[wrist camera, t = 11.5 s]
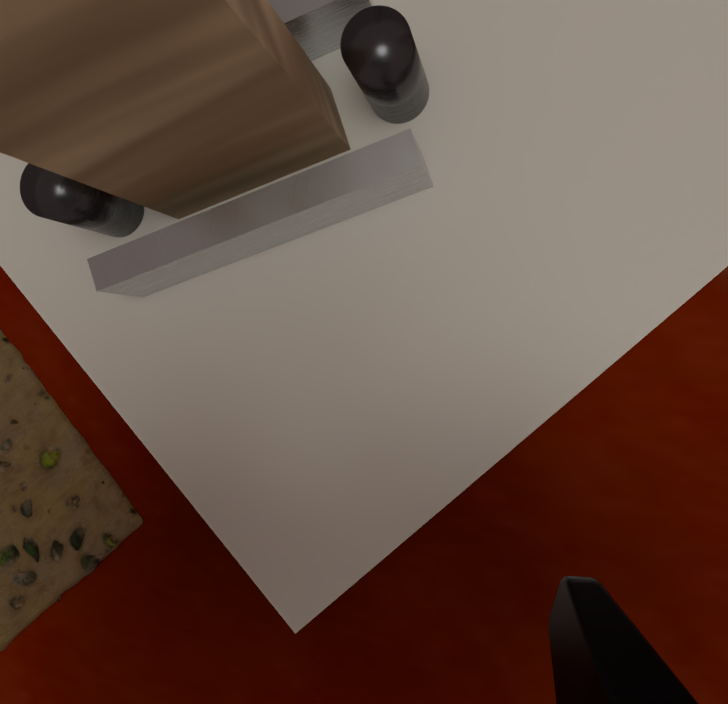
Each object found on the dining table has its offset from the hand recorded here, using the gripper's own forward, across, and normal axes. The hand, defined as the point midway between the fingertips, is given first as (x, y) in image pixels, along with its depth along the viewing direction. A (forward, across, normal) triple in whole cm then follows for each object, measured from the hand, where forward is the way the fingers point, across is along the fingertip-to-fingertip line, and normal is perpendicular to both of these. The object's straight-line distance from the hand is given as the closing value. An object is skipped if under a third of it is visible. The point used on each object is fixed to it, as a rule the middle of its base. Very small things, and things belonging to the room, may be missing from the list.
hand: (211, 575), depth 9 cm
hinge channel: (+15, +2, -1) cm, 16 cm away
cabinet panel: (+16, -2, -1) cm, 16 cm away
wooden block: (+15, +2, -1) cm, 15 cm away
